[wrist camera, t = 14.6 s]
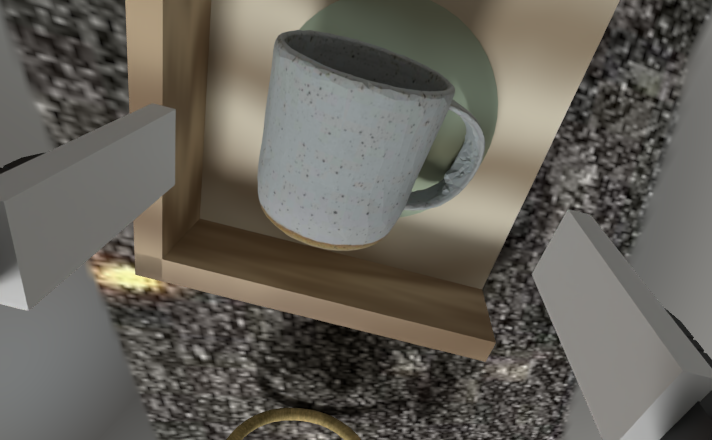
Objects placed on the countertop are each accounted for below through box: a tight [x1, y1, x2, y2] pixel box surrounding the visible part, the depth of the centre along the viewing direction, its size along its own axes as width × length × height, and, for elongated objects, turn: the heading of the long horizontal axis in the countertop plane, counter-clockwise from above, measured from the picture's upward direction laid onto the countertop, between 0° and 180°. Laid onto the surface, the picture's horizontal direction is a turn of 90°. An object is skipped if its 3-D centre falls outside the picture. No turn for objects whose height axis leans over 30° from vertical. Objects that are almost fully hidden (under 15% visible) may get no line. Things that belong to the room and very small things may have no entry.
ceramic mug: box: [257, 30, 485, 251], centre depth 19 cm, size 11×8×8 cm
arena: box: [126, 0, 620, 362], centre depth 21 cm, size 20×20×6 cm
